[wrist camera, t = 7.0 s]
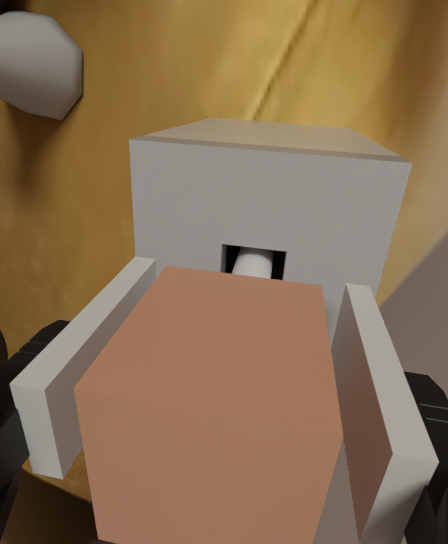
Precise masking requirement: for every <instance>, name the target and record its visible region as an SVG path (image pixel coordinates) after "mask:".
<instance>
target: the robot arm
mask: <svg viewBox="0 0 448 544" xmlns="http://www.w3.org/2000/svg"><path fill="white" fill-rule="evenodd" d="M155 280H156V259H152V258H144V257H135V258H134V259H133V260H132V261H131V262H130V263H129V264H128V265H127V266H126V267H125V268H124V269H123V270H122V271H121V272H120V273H119V274H118V275H117V276H116V277H115V278H114V279H113V280H112V281H111V282H110V283H109V284H108V285H107V286H106V287H105V288H104V289H103V290H102V291H101V292H100V293H99V294H98V295H97V296H96V297H95V298H94V299H93V300H92V301H91V302H90V303H89V304H88V305H87V306H86V307H85V308H84V309H83V310H82V311H81V312H80V313H79V314H78V315H77V316H76V317H75V318H74V319H73V320H72V321H71V322H70V321H64V320H58V321H56V322H54V323H52V324H50V325H48V326H46V327H44V328H43V329H41V330H40V331H39V332H38V333H37V334H36V335H35V336H34V337H33V338H32V339H30V342H29V343H28V342H27V343H26V344H25V345H24V346H23V347H22V348H21V349H20V350H19V352H16V353H15V354H14V355H13V356H12V357H11V358H10V359H9V360H8V361H7V362H6V360H7V353H6V347H5V343H4V340H3V337H2V335H1V333H0V540H1V538H2V535H3V532H4V528H5V526H6V523H7V520H8V517H9V514H10V511H11V509H12V506H13V503H14V499H15V497H16V494H17V491H18V487H19V475H18V472H17V471H18V470H19V469H20V467H21V466H22V465H23V463H24V462H25V461H26V459H27V458H28V457H29V460H30V464H31V467H32V471H33V473H36V474H41V475H45V476H50V477H55V478H59V479H64V477H65V475H66V474H67V472H68V470H69V469H70V467H71V465H72V464H73V462H74V460H75V459H76V457H77V455H78V454H79V452H80V450H81V449H82V447H83V442H82V436H81V430H80V424H79V418H78V412H77V406H76V400H75V394H74V387H75V385H76V384H77V383H78V381H79V380H80V379H81V377H82V376H83V375H84V374H85V372H86V371H87V370H88V368H89V367H90V366H91V364H92V363H93V362H94V360H95V359H96V358H97V356H98V355H99V354H100V352H101V351H102V350H103V348H104V347H105V346H106V344H107V343H108V342H109V341H110V339H111V338H112V337H113V335H114V334H115V333H116V331H117V330H118V329H119V327H120V326H121V325H122V323H123V322H124V321H125V319H126V318H127V317H128V315H129V314H130V313H131V311H132V310H133V309H134V307H135V306H136V305H137V304H138V302H139V301H140V300H141V298H142V297H143V296H144V294H145V293H146V292H147V290H148V289H149V288H150V286H151V285H152V284H153V282H154V281H155ZM331 354H332V361H333V367H334V374H335V381H336V388H337V395H338V402H339V409H340V416H341V423H342V430H343V437H344V444H345V451H346V457H347V465H348V471H349V478H350V485H351V492H352V499H353V506H354V513H355V519H356V527H357V534H358V541H359V543H362V544H400V543H401V541H402V539H403V537H404V535H405V538H406V542H407V544H448V399H447V397H446V395H445V393H444V391H443V390H442V389H441V388H440V387H439V386H438V385H437V384H436V383H435V382H434V381H433V380H432V379H431V378H430V377H429V376H428V375H423V374H416V373H410V372H403V370H402V367H401V365H400V362H399V360H398V357H397V354H396V352H395V349H394V347H393V344H392V342H391V339H390V337H389V334H388V332H387V329H386V327H385V324H384V322H383V319H382V317H381V314H380V311H379V309H378V306H377V304H376V301H375V299H374V296H373V294H372V291H371V289H370V286H365V285H357V284H349V283H346V285H345V289H344V294H343V298H342V302H341V307H340V311H339V315H338V320H337V324H336V328H335V333H334V337H333V341H332V346H331Z"/></svg>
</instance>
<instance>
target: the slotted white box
mask: <svg viewBox="0 0 448 544" xmlns="http://www.w3.org/2000/svg"><path fill="white" fill-rule="evenodd" d="M129 148H130V167H131V185H132V204H133V222H134V240H135V257H144V258H152V259H156V278H157V277H158V276H159V274H160V273H161V272H162V270H163V269H164V268H165V267H166V265H167V266H175V267H183V268H191V269H199V270H206V271H214V272H222V273H230V274H232V271H233V269H234V266H235V263H236V260H237V257H238V254H239V252H240V249H241V246H243V247H252V248H260V249H268V250H274V256H273V264H272V272H271V279H277V280H284V281H292V282H300V283H308V284H316V285H322V291H323V298H324V305H325V312H326V319H327V326H328V333H329V340H330V347H331V346H332V341H333V337H334V333H335V328H336V324H337V320H338V315H339V311H340V307H341V302H342V298H343V294H344V289H345V285H346V283H349V284H357V285H365V286H370V289H371V291H372V294H373V296H374V299H375V298H376V294H377V290H378V287H379V283H380V280H381V276H382V272H383V269H384V265H385V261H386V258H387V254H388V251H389V247H390V243H391V240H392V236H393V233H394V229H395V225H396V222H397V218H398V214H399V211H400V207H401V204H402V200H403V196H404V193H405V189H406V186H407V182H408V178H409V175H410V171H411V167H412V164H413V163H412V162H410V161H408V160H406V159H404V158H403V157H401V156H399V155H397V154H396V153H394V152H392V151H390V150H389V149H387V148H385V147H383V146H381V145H380V144H378V143H376V142H374V141H373V140H371V139H369V138H367V137H365V136H364V135H362V134H360V133H358V132H357V131H355V130H353V129H351V128H346V127H332V126H319V125H305V124H291V123H278V122H264V121H250V120H237V119H223V118H209V119H206V120H202V121H198V122H194V123H190V124H186V125H183V126H179V127H175V128H171V129H167V130H163V131H160V132H156V133H152V134H148V135H144V136H140V137H137V138H133V139H129ZM333 368H334V367H333ZM334 375H335V374H334ZM335 382H336V381H335Z"/></svg>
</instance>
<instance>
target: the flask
mask: <svg viewBox="0 0 448 544" xmlns="http://www.w3.org/2000/svg"><path fill="white" fill-rule="evenodd" d="M81 95H82V49H81V48H80V47H79V46H78V45H77V44H76V43H75V42H74V40H73V39H72V38H71V37H70V36H69V35H68V34H67V33H66V31H65V30H64V29H63V28H62V27H61V26H60V25H59V24H58V22H57V21H56V20H55V19H54V18H53V17H52V16H47V15H42V14H37V13H32V12H27V11H22V10H17V9H14V10H11V11H9V12H7V13H4V14H2V15H0V99H2V100H4V101H6V102H8V103H10V104H11V105H13V106H15V107H17V108H19V109H21V110H23V111H25V112H27V113H30V114H34V115H39V116H43V117H48V118H52V119H57V120H63V118H64V117H65V116H66V114H67V113H68V112H69V110H70V109H71V108H72V106H73V105H74V104H75V102H76V101H77V100H78V98H79V97H80V96H81Z"/></svg>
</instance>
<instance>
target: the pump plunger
mask: <svg viewBox="0 0 448 544" xmlns="http://www.w3.org/2000/svg"><path fill="white" fill-rule="evenodd" d="M273 256H274V250H268V249H260V248H252V247H243V246H241V249H240V252H239V254H238V257H237V260H236V263H235V266H234V269H233V271H232V274H230V273H222V272H214V271H206V270H199V269H191V268H183V267H175V266H167V265H166V267H165V268H164V269H163V270H162V272H161V273H160V274H159V276H158V277H157V278H156V280H155V281H154V282H153V284H152V285H151V286H150V288H149V289H148V290H147V292H146V293H145V294H144V296H143V297H142V298H141V300H140V301H139V302H138V304H137V305H136V306H135V307H134V309H133V310H132V311H131V313H130V314H129V315H128V317H127V318H126V319H125V321H124V322H123V323H122V325H121V326H120V327H119V329H118V330H117V331H116V333H115V334H114V335H113V337H112V338H111V339H110V341H109V342H108V343H107V344H106V346H105V347H104V348H103V350H102V351H101V352H100V354H99V355H98V356H97V358H96V359H95V360H94V362H93V363H92V364H91V366H90V367H89V368H88V370H87V371H86V372H85V374H84V375H83V376H82V377H81V379H80V380H79V381H78V383H77V384H76V385H75V387H74V394H75V400H76V406H77V412H78V418H79V424H80V430H81V436H82V442H83V449H84V455H85V461H86V467H87V473H88V479H89V485H90V491H91V497H92V504H93V510H94V516H95V522H96V528H97V534H98V539H100V540H104V541H108V542H113V543H117V544H313V540H314V537H315V533H316V530H317V526H318V522H319V519H320V516H321V512H322V509H323V506H324V502H325V498H326V495H327V492H328V488H329V485H330V481H331V478H332V474H333V471H334V467H335V464H336V460H337V456H338V453H339V450H340V446H341V443H342V439H343V430H342V423H341V416H340V409H339V402H338V395H337V388H336V382H335V375H334V368H333V361H332V354H331V347H330V340H329V333H328V326H327V319H326V312H325V305H324V298H323V291H322V285H316V284H308V283H300V282H292V281H284V280H277V279H271V272H272V264H273Z"/></svg>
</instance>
